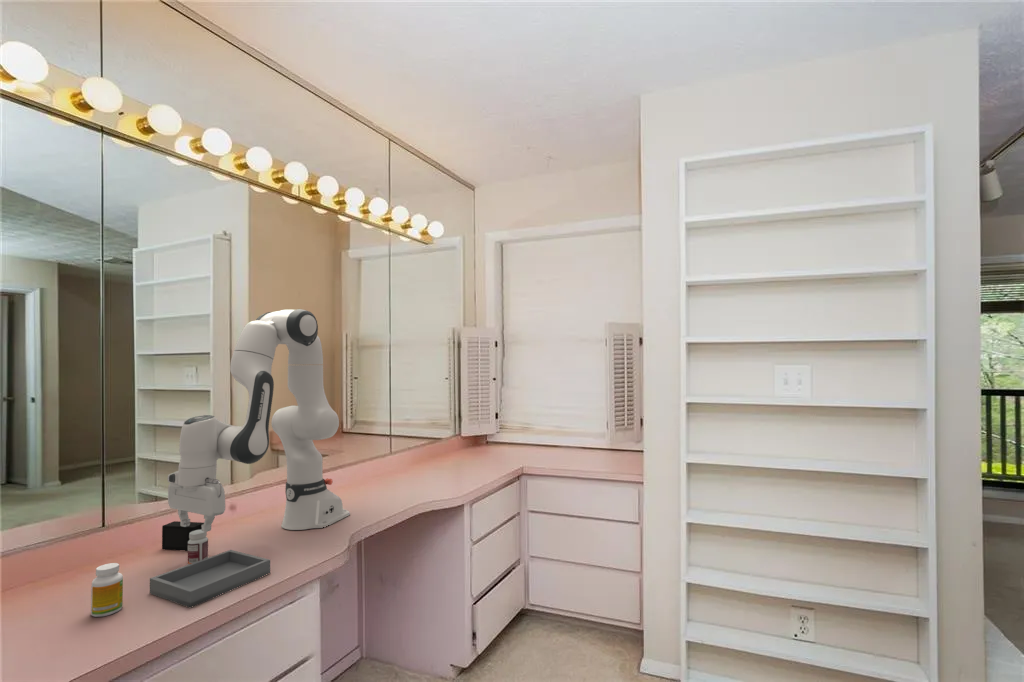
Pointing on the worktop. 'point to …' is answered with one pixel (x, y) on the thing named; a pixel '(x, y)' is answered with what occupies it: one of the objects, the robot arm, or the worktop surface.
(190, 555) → the pill bottle
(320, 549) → the worktop surface
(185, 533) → the digital camera
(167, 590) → the tray
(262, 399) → the robot arm
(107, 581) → the supplement bottle
